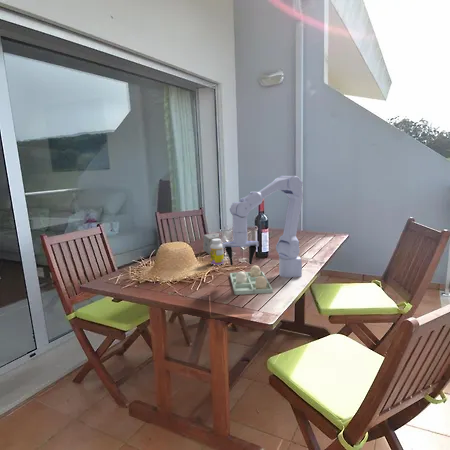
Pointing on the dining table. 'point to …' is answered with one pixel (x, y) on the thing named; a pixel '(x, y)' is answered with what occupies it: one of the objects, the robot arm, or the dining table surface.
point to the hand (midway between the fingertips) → (240, 264)
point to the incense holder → (209, 241)
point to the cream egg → (241, 278)
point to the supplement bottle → (216, 252)
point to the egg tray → (249, 285)
